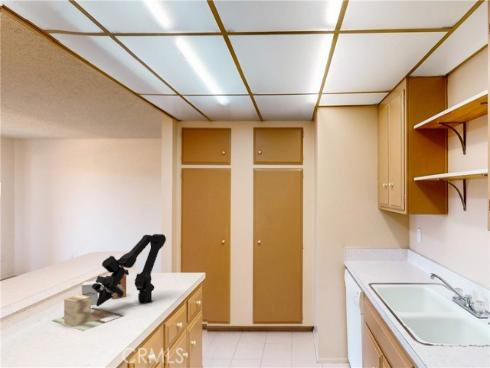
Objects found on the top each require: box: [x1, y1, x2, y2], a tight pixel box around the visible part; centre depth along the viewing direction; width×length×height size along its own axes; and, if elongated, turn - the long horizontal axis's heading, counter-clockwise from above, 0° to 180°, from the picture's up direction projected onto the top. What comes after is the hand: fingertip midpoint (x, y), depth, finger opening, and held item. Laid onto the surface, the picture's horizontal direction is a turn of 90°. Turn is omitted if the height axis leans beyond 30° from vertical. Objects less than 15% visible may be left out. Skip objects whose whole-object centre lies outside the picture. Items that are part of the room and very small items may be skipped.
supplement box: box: [81, 280, 99, 306], centre depth 187 cm, size 7×7×13 cm
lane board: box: [51, 307, 126, 332], centre depth 164 cm, size 22×25×2 cm
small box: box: [109, 274, 127, 300], centre depth 204 cm, size 8×6×13 cm
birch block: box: [63, 294, 92, 326], centre depth 159 cm, size 8×8×11 cm
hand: (97, 305), depth 168 cm, fingers closed
